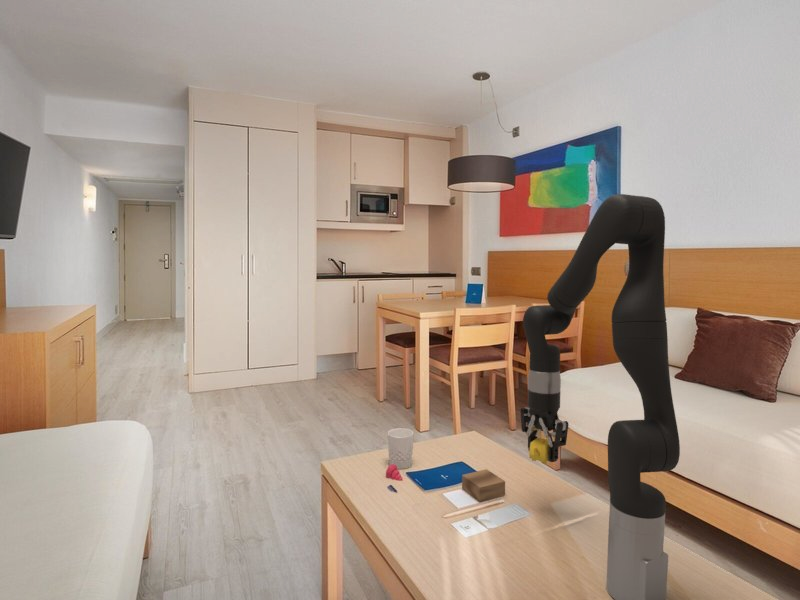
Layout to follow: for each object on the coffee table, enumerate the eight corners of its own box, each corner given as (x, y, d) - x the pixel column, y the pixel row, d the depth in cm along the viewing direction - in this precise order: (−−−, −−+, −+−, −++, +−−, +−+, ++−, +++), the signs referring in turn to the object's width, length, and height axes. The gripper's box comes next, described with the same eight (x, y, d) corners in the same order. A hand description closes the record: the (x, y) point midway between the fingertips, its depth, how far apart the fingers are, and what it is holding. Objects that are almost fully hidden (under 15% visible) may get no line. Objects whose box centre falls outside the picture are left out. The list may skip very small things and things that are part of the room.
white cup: (407, 457, 152) (407, 426, 151) (417, 467, 145) (417, 435, 144) (384, 461, 149) (384, 429, 148) (392, 471, 142) (392, 438, 141)
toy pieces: (374, 489, 132) (374, 473, 132) (393, 473, 142) (393, 458, 142) (413, 499, 127) (413, 483, 126) (431, 482, 136) (431, 467, 136)
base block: (504, 496, 126) (505, 481, 126) (479, 502, 122) (479, 487, 122) (486, 483, 133) (486, 469, 133) (462, 489, 130) (462, 474, 129)
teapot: (548, 469, 112) (548, 447, 111) (524, 462, 115) (525, 441, 115) (561, 458, 118) (562, 437, 117) (539, 452, 122) (539, 432, 121)
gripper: (578, 393, 111) (576, 464, 112) (535, 380, 124) (533, 443, 125) (554, 397, 108) (552, 470, 109) (512, 383, 120) (510, 448, 122)
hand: (542, 456), depth 117 cm, fingers closed on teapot, 6 cm apart
